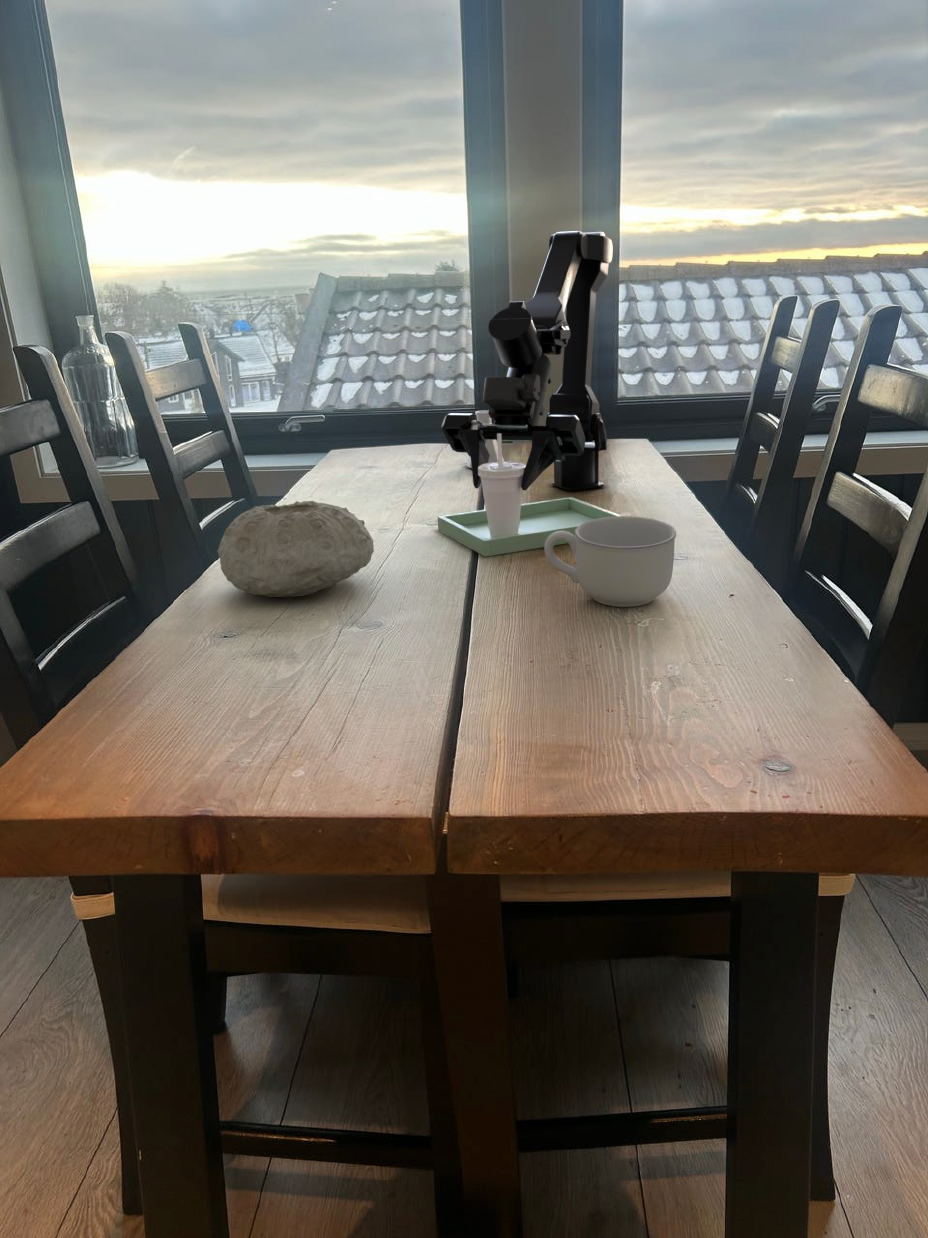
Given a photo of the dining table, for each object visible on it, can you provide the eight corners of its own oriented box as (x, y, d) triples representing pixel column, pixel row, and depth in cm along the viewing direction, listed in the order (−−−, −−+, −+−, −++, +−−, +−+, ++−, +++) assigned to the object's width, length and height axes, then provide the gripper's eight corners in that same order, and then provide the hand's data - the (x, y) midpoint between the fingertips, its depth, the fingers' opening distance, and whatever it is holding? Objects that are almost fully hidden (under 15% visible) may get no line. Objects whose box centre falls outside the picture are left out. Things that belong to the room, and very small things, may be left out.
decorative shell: (259, 564, 128) (251, 487, 125) (393, 567, 125) (388, 488, 121) (197, 610, 112) (185, 522, 109) (348, 614, 108) (341, 524, 105)
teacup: (680, 587, 113) (682, 517, 110) (666, 618, 103) (668, 543, 100) (560, 579, 117) (559, 512, 114) (535, 609, 107) (534, 537, 105)
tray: (571, 510, 149) (571, 496, 148) (629, 533, 135) (629, 518, 135) (438, 530, 141) (437, 516, 140) (484, 556, 127) (484, 540, 127)
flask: (506, 461, 187) (505, 407, 184) (504, 469, 181) (502, 413, 177) (468, 462, 188) (466, 409, 185) (464, 470, 182) (462, 414, 178)
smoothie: (473, 542, 132) (468, 436, 128) (490, 529, 138) (486, 428, 133) (519, 545, 130) (516, 437, 125) (534, 532, 136) (532, 428, 131)
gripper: (442, 352, 133) (413, 450, 127) (578, 350, 126) (554, 454, 120) (467, 403, 142) (440, 497, 136) (595, 404, 135) (572, 503, 130)
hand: (499, 487), depth 130 cm, fingers closed on smoothie, 6 cm apart
